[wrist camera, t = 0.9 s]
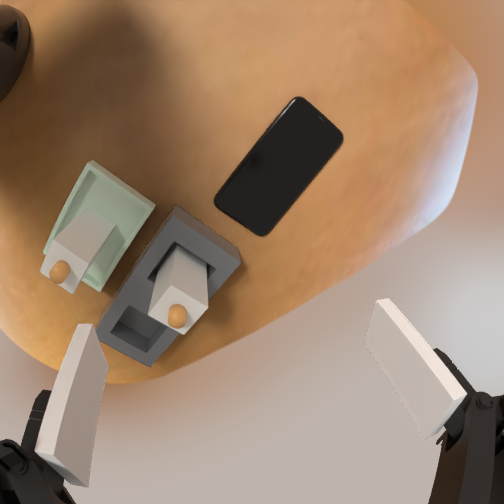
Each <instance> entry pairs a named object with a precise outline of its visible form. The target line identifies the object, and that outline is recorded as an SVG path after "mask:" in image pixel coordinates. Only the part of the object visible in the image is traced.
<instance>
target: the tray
mask: <svg viewBox="0 0 504 504" xmlns="http://www.w3.org/2000/svg"><path fill="white" fill-rule="evenodd" d="M155 205H156V204H154V203H153V202H152V201H150V200H149V199H147V198H146V197H144V196H143V195H142V194H140V193H139V192H137V191H136V190H135V189H133V188H132V187H130V186H129V185H127V184H126V183H125V182H123V181H122V180H120V179H119V178H118V177H116V176H115V175H113V174H112V173H111V172H109V171H108V170H106V169H105V168H104V167H102V166H101V165H99V164H98V163H97V162H95V161H94V160H92V161H90V162H88V163H87V164H86V166H85V168H84V169H83V171H82V173H81V175H80V177H79V178H78V180H77V182H76V184H75V186H74V187H73V189H72V191H71V193H70V195H69V197H68V199H67V201H66V203H65V205H64V207H63V209H62V211H61V213H60V215H59V217H58V219H57V221H56V223H55V225H54V228H53V230H52V232H51V234H50V236H49V239H48V241H47V243H46V246H45V248H44V250H43V254H45V255H47V253H48V250H49V248H50V246H51V243H52V241H53V239H54V238H55V237H56V236H57V235H58V234H59V233H60V232H61V231H62V230H63V229H64V228H66V227H67V226H68V225H69V224H70V223H71V222H72V221H73V220H74V219H75V218H76V217H77V216H79V215H80V214H81V213H82V212H83V211H84V210H85V209H86V208H88V207H89V206H90V207H91V208H93V209H94V210H96V211H97V212H98V213H100V214H101V215H103V216H104V217H106V218H107V219H108V220H110V221H111V222H113V223H114V224H116V226H115V227H114V229H113V231H112V232H111V234H110V236H109V237H108V239H107V241H106V242H105V244H104V246H103V247H102V249H101V251H100V252H99V254H98V255H97V257H96V258H95V260H94V261H93V263H92V264H91V266H90V268H89V269H88V271H87V272H86V274H85V275H84V277H83V279H82V281H83V282H85V283H86V284H88V285H89V286H91V287H92V288H94V289H95V290H97V291H98V292H101V290H102V288H103V286H104V285H105V283H106V281H107V280H108V278H109V276H110V275H111V273H112V271H113V270H114V268H115V267H116V265H117V263H118V262H119V260H120V259H121V257H122V255H123V254H124V252H125V251H126V249H127V248H128V246H129V245H130V243H131V242H132V240H133V239H134V237H135V235H136V234H137V232H138V231H139V230H140V228H141V227H142V225H143V224H144V222H145V221H146V219H147V218H148V216H149V215H150V213H151V212H152V211H153V209H154V207H155Z"/></svg>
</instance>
